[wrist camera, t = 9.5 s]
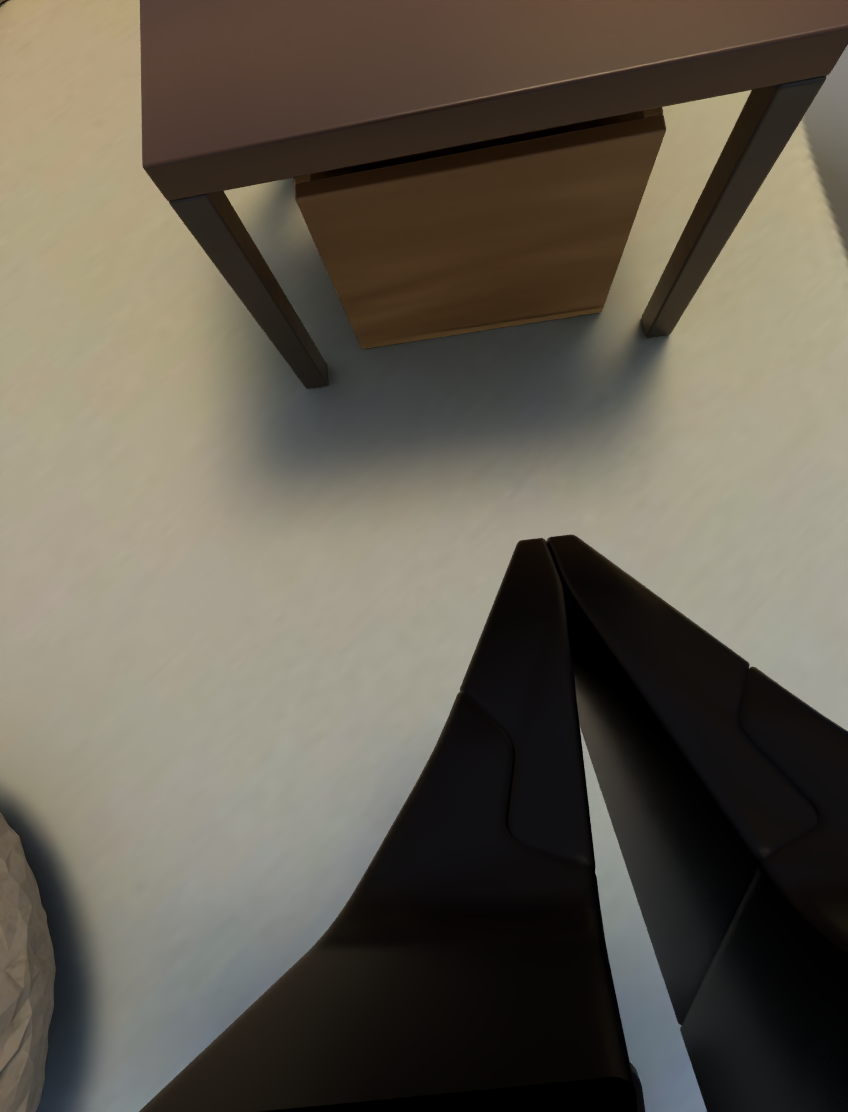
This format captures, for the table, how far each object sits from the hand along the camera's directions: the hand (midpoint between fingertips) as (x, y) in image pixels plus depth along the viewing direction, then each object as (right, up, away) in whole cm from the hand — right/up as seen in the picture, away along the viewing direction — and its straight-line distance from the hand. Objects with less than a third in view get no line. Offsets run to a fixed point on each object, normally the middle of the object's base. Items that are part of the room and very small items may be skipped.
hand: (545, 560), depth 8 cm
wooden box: (0, +13, +14) cm, 20 cm away
